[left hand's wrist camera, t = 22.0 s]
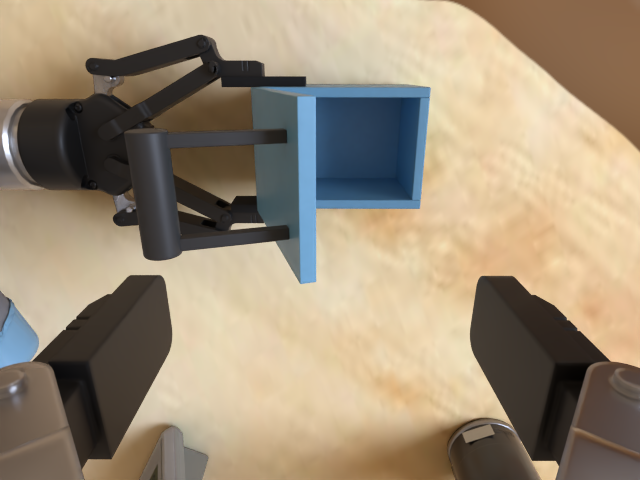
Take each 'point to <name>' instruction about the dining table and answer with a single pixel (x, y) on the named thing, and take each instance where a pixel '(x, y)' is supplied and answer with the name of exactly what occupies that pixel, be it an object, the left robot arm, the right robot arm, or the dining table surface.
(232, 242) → the lid
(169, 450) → the digital clock
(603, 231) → the dining table surface
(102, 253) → the dining table surface
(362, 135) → the chest
